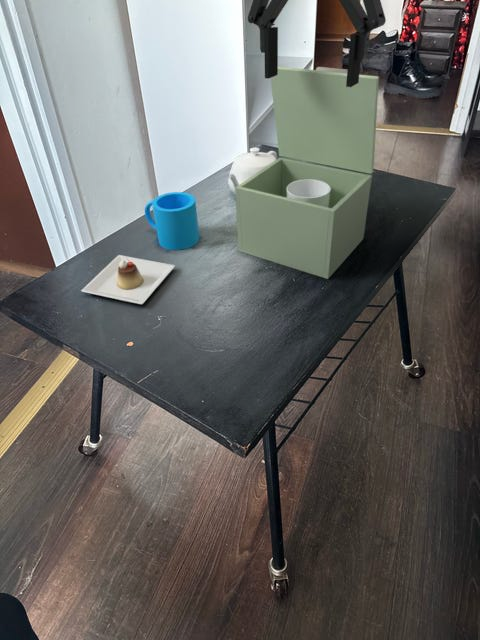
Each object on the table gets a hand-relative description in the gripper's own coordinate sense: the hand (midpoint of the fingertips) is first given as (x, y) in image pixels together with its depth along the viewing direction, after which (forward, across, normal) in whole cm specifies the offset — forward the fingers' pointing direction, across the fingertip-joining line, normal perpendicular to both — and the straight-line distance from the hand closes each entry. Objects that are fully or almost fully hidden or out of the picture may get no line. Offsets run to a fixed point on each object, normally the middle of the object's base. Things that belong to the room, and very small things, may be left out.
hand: (310, 80), depth 72 cm
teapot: (+29, -21, +16) cm, 39 cm away
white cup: (+28, -1, +2) cm, 29 cm away
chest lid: (+8, -1, +6) cm, 10 cm away
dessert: (+29, -21, -25) cm, 44 cm away
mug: (+29, -25, -9) cm, 39 cm away
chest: (+29, -1, +1) cm, 29 cm away
